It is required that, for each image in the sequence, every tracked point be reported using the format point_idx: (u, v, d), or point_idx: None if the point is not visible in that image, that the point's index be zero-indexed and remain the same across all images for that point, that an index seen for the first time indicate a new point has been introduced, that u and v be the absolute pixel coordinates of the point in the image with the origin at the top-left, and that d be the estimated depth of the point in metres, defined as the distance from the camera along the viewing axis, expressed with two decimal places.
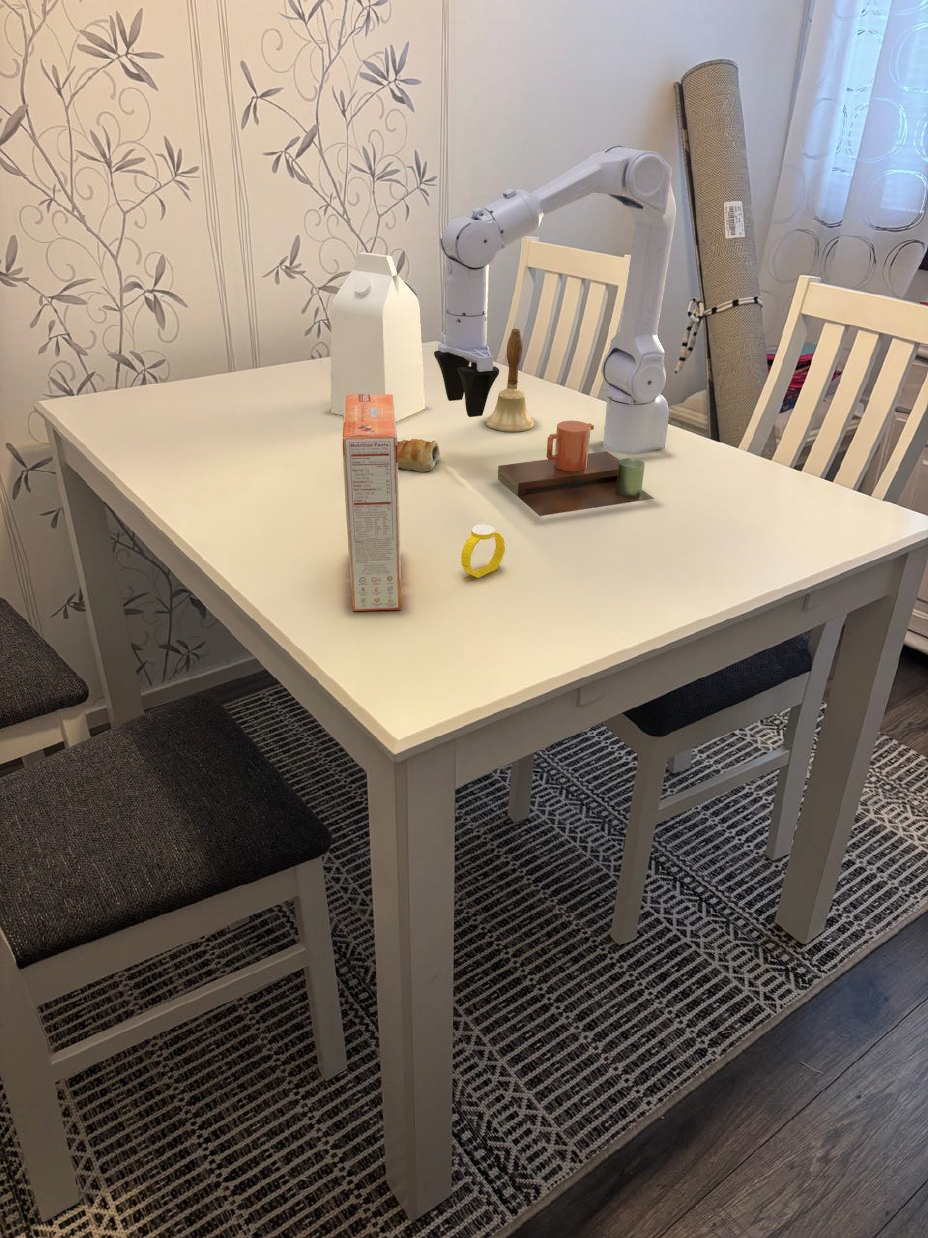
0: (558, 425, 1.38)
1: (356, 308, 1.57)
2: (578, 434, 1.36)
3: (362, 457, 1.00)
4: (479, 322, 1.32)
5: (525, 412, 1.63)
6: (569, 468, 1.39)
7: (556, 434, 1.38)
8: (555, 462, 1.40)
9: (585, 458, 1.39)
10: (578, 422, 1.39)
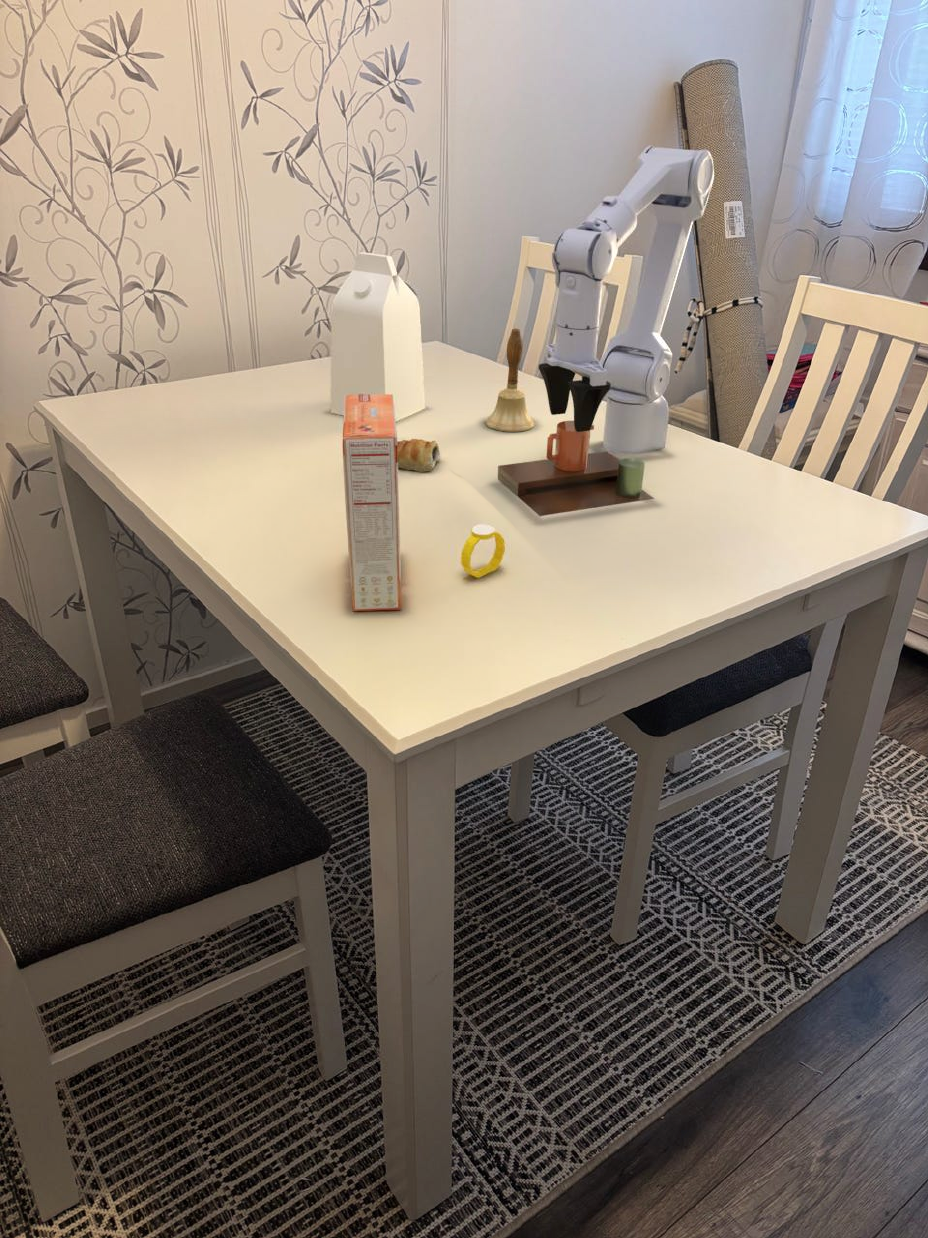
0: (558, 425, 1.38)
1: (356, 308, 1.57)
2: (578, 434, 1.36)
3: (362, 457, 1.00)
4: (591, 335, 1.30)
5: (525, 412, 1.63)
6: (569, 468, 1.39)
7: (556, 434, 1.38)
8: (555, 462, 1.40)
9: (585, 458, 1.39)
10: None
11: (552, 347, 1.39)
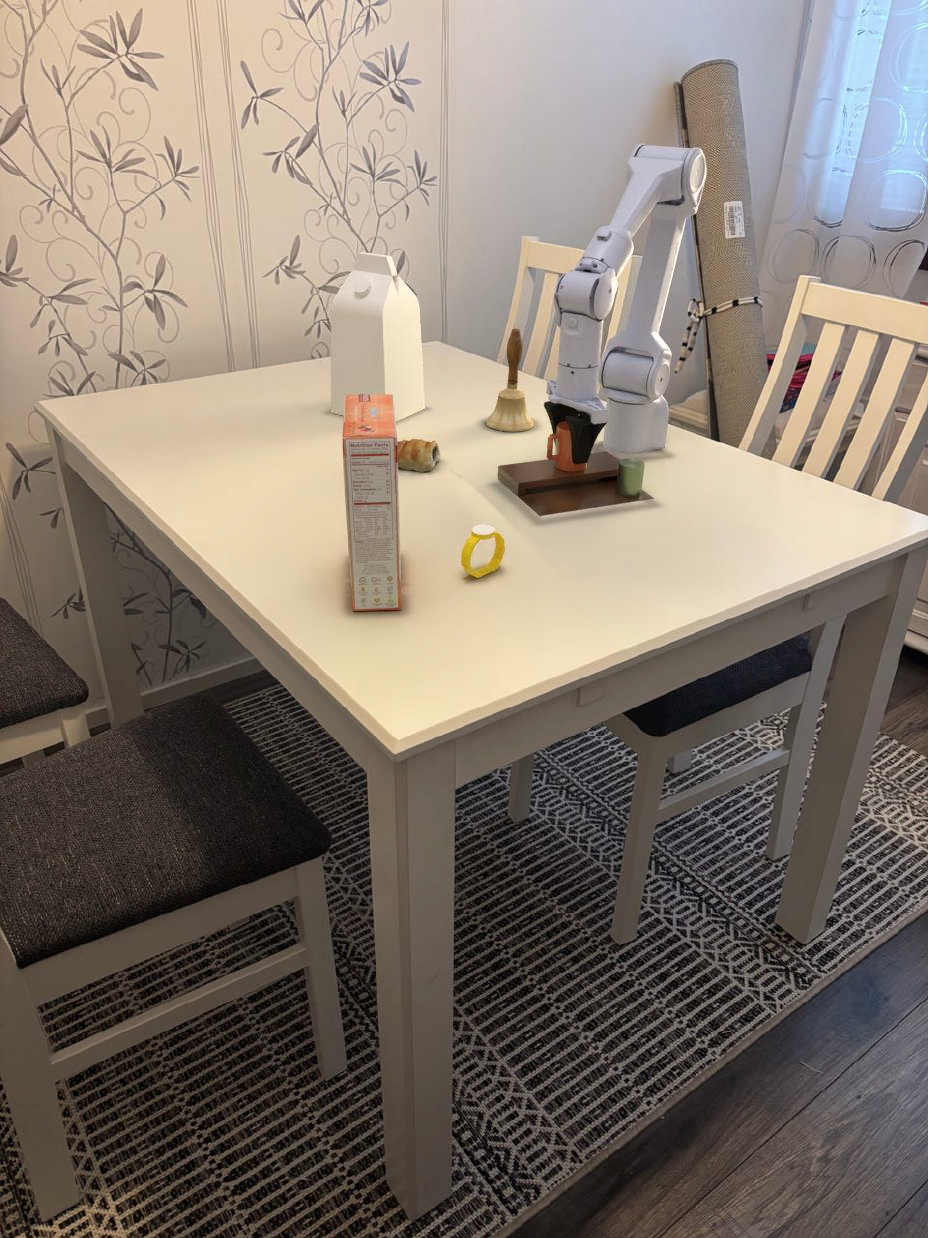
0: (558, 425, 1.38)
1: (356, 308, 1.57)
2: None
3: (362, 457, 1.00)
4: (592, 374, 1.32)
5: (525, 412, 1.63)
6: (569, 468, 1.39)
7: (556, 434, 1.38)
8: (555, 462, 1.40)
9: None
10: None
11: (553, 383, 1.41)
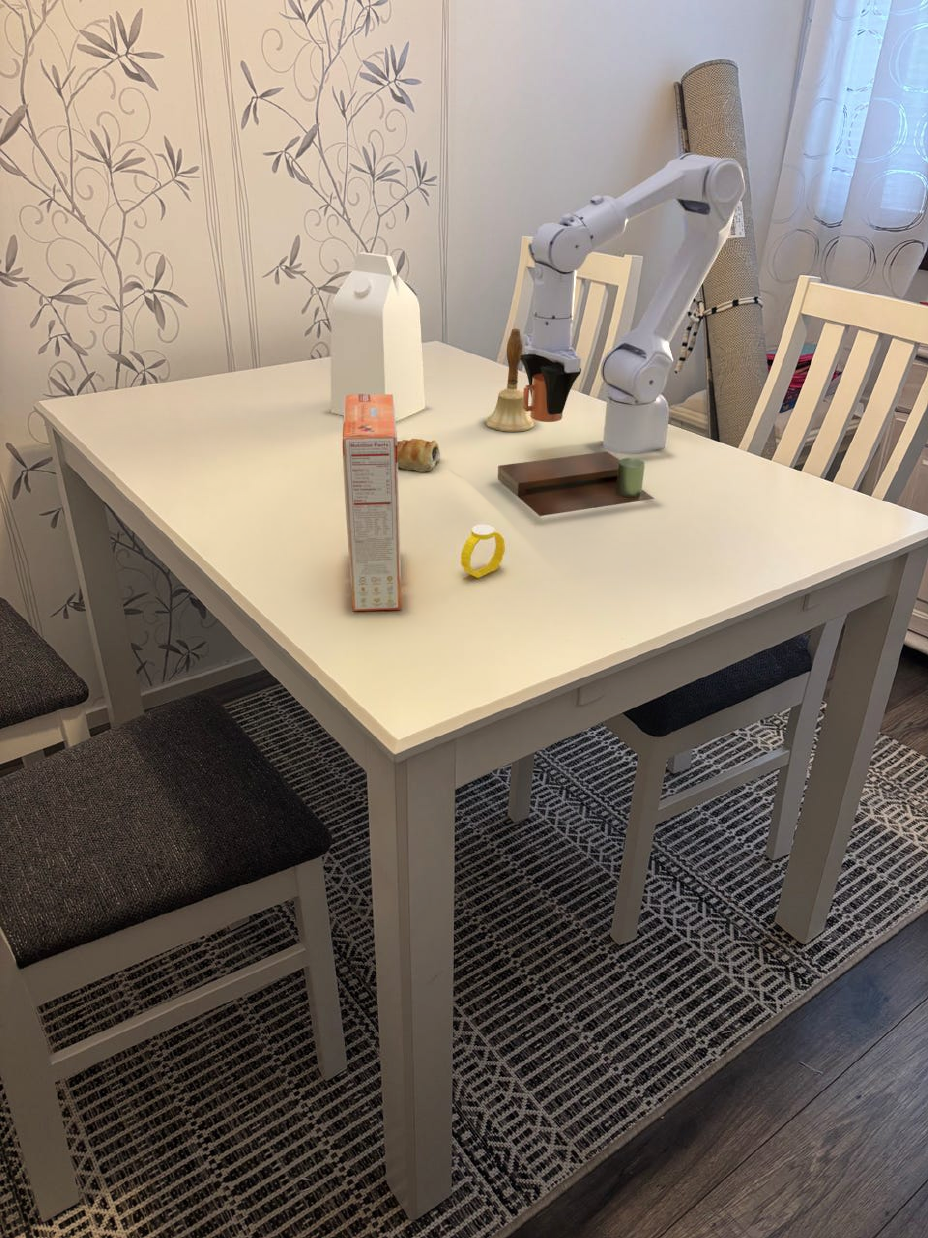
0: (534, 376, 1.43)
1: (356, 308, 1.57)
2: None
3: (362, 457, 1.00)
4: (566, 325, 1.37)
5: (525, 412, 1.63)
6: (545, 419, 1.43)
7: (532, 385, 1.42)
8: (531, 413, 1.45)
9: None
10: None
11: (530, 336, 1.46)
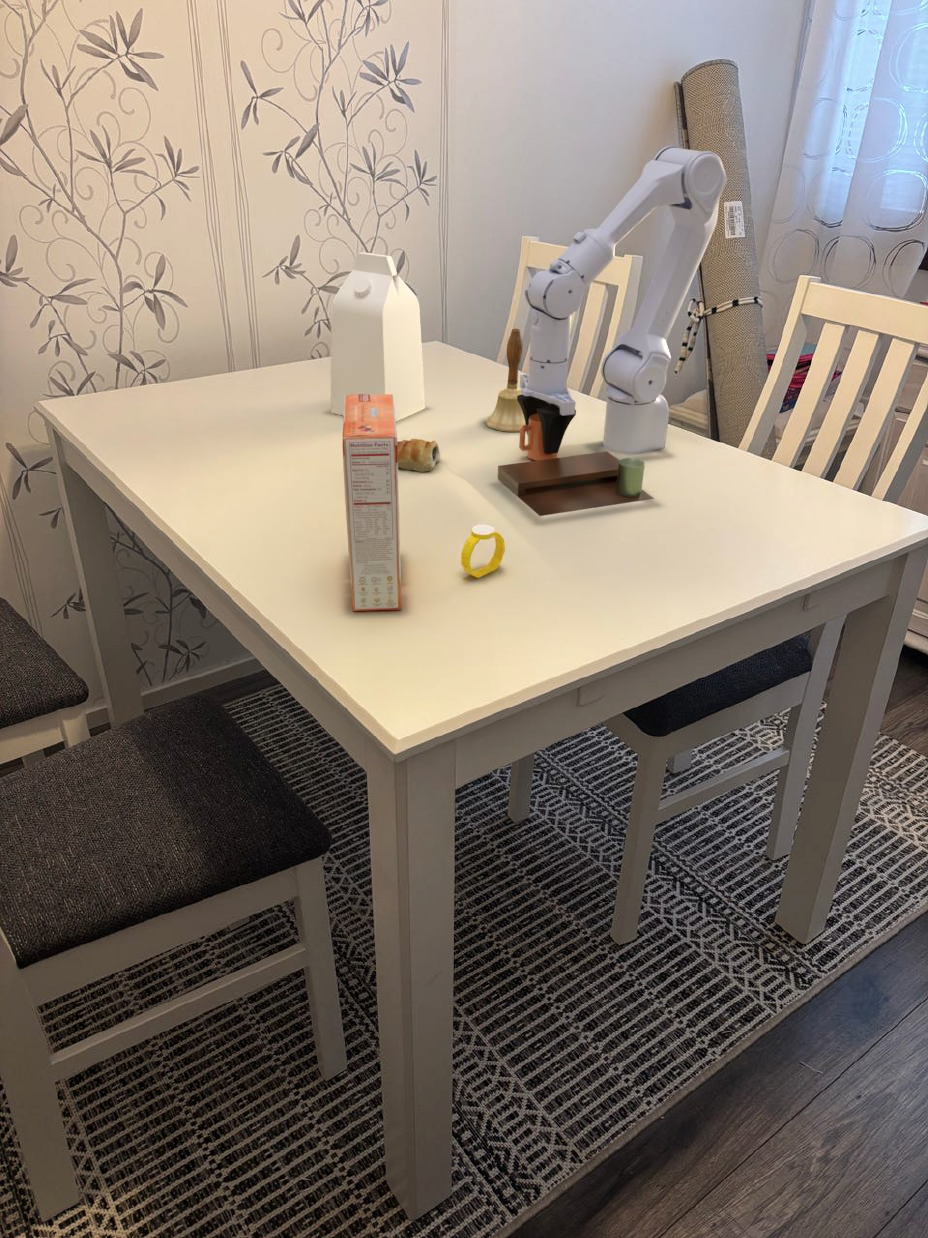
0: (530, 417, 1.46)
1: (356, 308, 1.57)
2: None
3: (362, 457, 1.00)
4: (561, 368, 1.40)
5: None
6: (541, 458, 1.47)
7: (528, 425, 1.46)
8: (527, 452, 1.48)
9: None
10: None
11: (526, 377, 1.49)
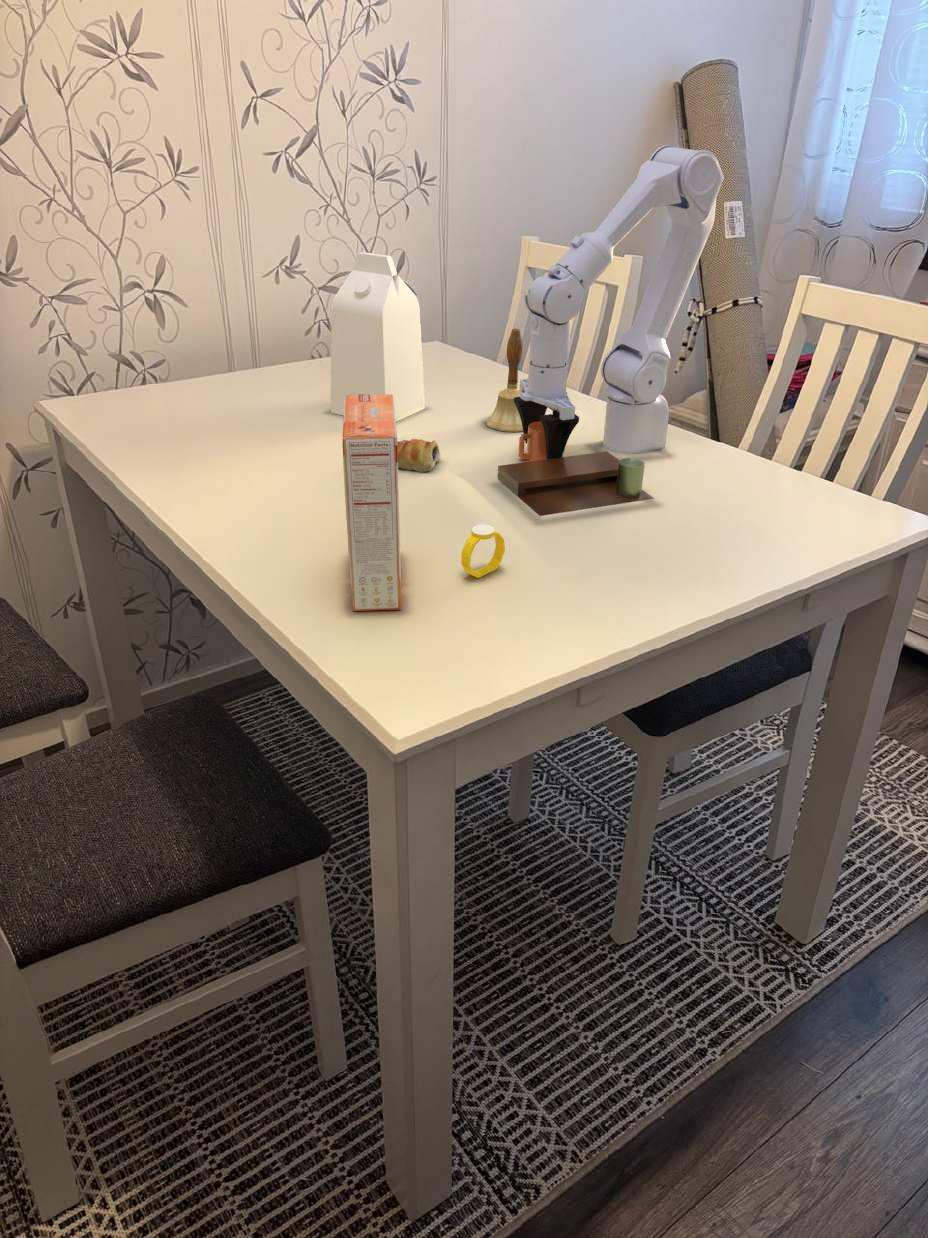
0: (529, 426, 1.47)
1: (356, 308, 1.57)
2: None
3: (362, 457, 1.00)
4: (561, 373, 1.41)
5: None
6: None
7: (527, 434, 1.46)
8: None
9: None
10: None
11: (526, 382, 1.49)
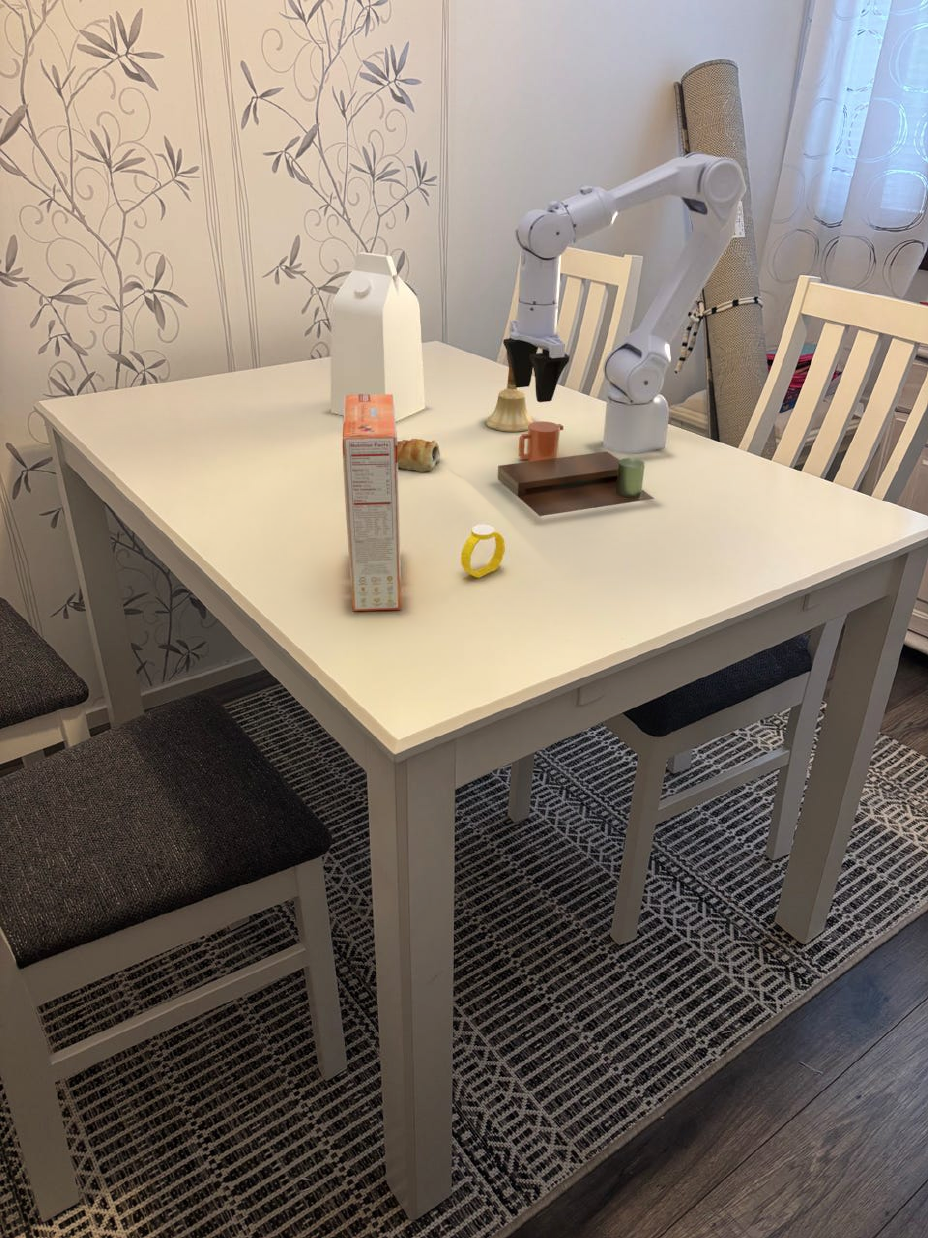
0: (529, 426, 1.47)
1: (356, 308, 1.57)
2: (548, 434, 1.45)
3: (362, 457, 1.00)
4: (551, 311, 1.38)
5: (525, 412, 1.63)
6: None
7: (527, 434, 1.46)
8: None
9: (555, 457, 1.48)
10: (548, 423, 1.48)
11: (516, 323, 1.47)
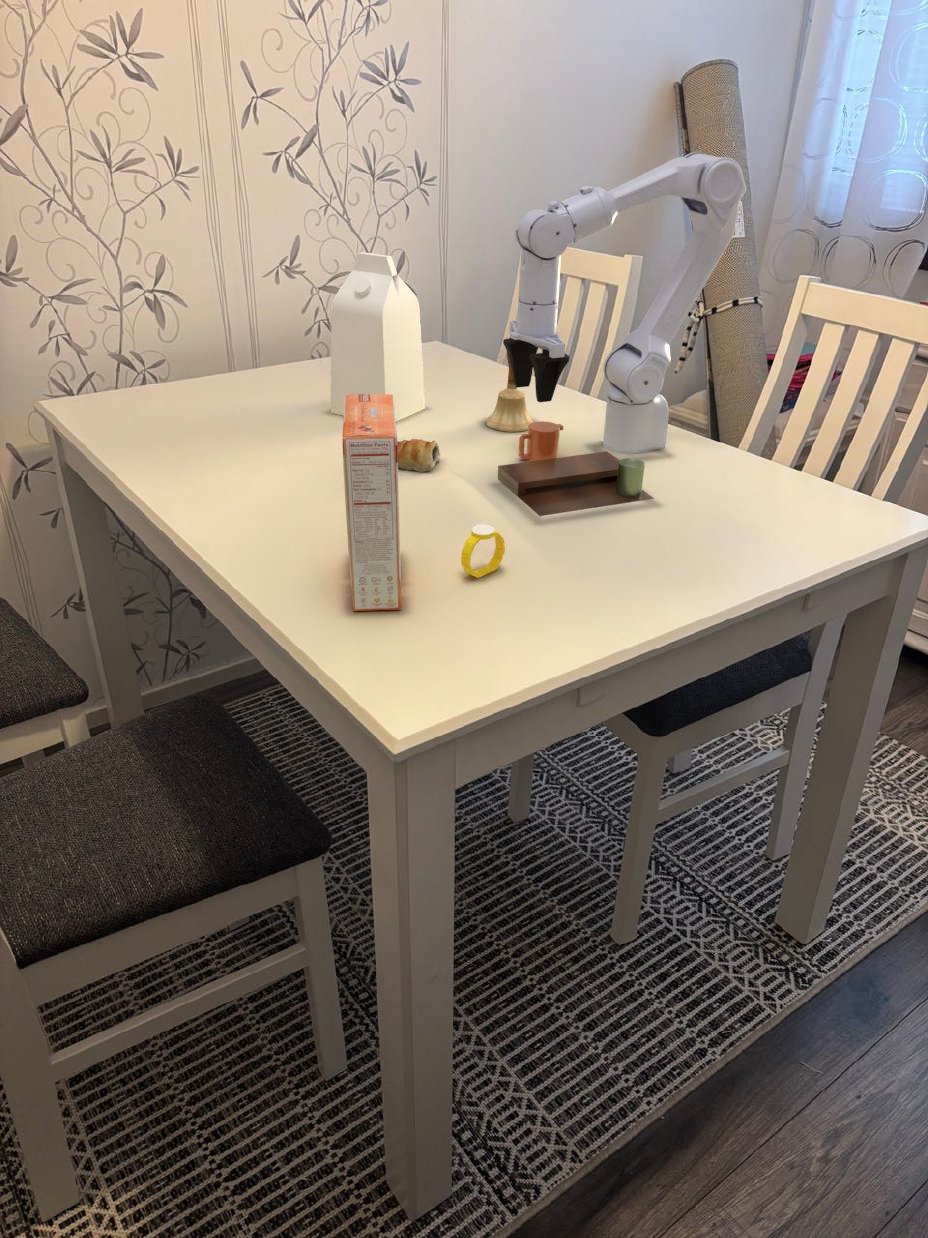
0: (529, 426, 1.47)
1: (356, 308, 1.57)
2: (548, 434, 1.45)
3: (362, 457, 1.00)
4: (551, 311, 1.38)
5: (525, 412, 1.63)
6: None
7: (527, 434, 1.46)
8: None
9: (555, 457, 1.48)
10: (548, 423, 1.48)
11: (516, 323, 1.47)
